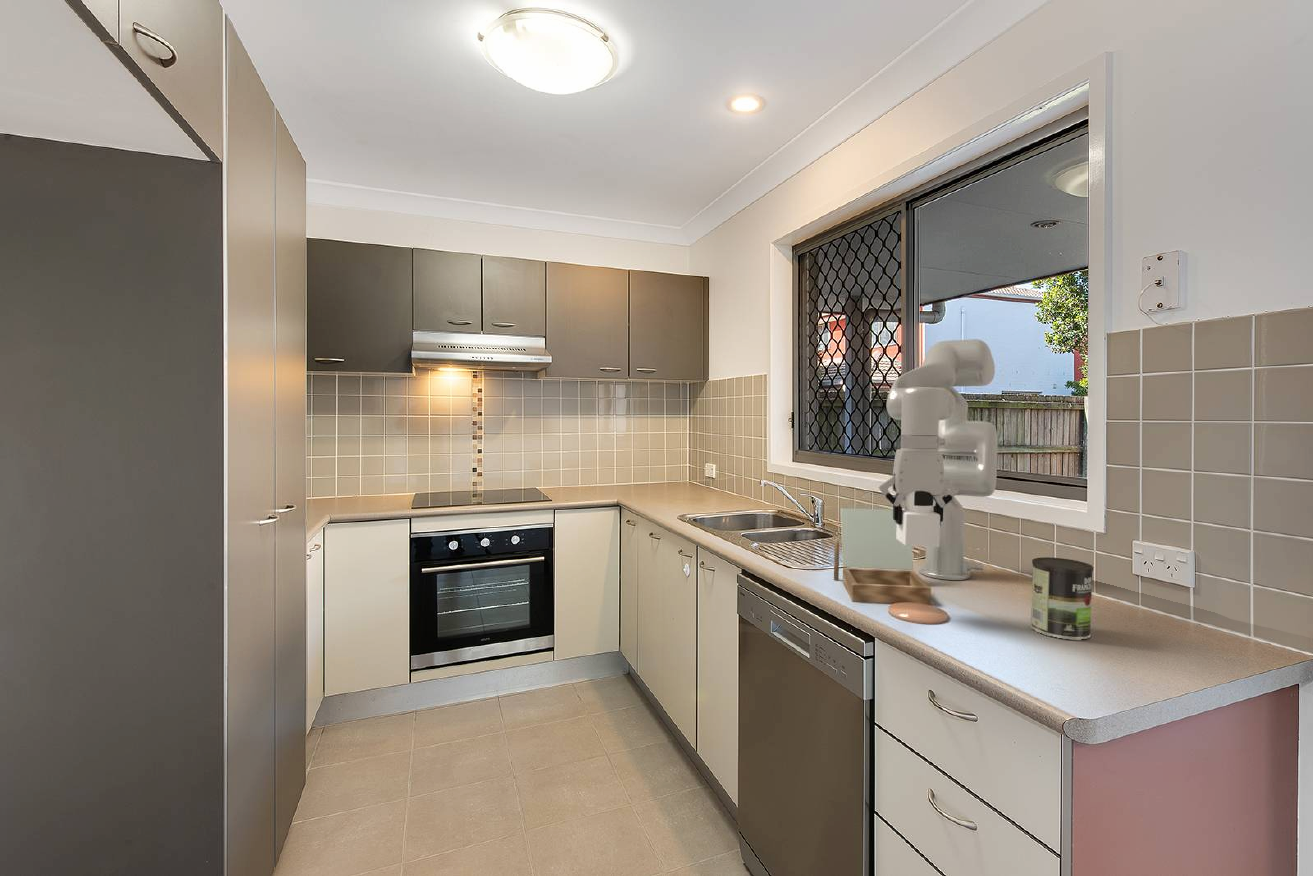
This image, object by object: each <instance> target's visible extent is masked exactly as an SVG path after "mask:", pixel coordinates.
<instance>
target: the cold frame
mask: <svg viewBox="0 0 1313 876" xmlns="http://www.w3.org/2000/svg"><path fill="white" fill-rule="evenodd" d="M842 584H843V587H844V588H845V590H846V592H847V595H848V596H849V598H850V599H851V601H852V602H855V601H860V602H859V603H861V602H862V603H878V604H879V603H881V604H895V603H903V602H910V603H921V604H926V605H931V603H932V602H931V599H932V596H931V595H932V592H931V591H932V588H931V587H930V586H929V584H927V583H926V582H925V580H923V578H922V577H920V576H919V574H917V573H916V571H914V570H901V569H877V568H852V567H842ZM931 606H932V605H931Z"/></svg>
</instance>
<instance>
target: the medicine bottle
mask: <svg viewBox="0 0 1313 876" xmlns="http://www.w3.org/2000/svg"><path fill="white" fill-rule="evenodd" d="M931 509H933V496H932V494H931V493H929V492H925V491H915V492H912V493H910V494H909V495H905V497H904V498H903V500H902V524H901V525H898V524H897V531H896V539H897V540H898V541H899V542H901V543H902V544H903V545H905V546H912V548H913V547H914V548H915V547H916V548H917V547H918V548H920V547H921V548H922V547H924V548H926V547H939V543H940V515H939V514H938V513H935V512H933V511H931Z"/></svg>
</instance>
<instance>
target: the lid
mask: <svg viewBox="0 0 1313 876" xmlns="http://www.w3.org/2000/svg"><path fill="white" fill-rule="evenodd" d="M839 512H840V513H839V515H840V522H841V523H840V529H841V530H840V531H841V533H840V534H841V554H842V556H841V558H842V559H841V560H842V563H841V564H842V568H856V569H881V570H905V571H914V557H913V546H905V545H903V544H902V543H901V542H899V541H898V540H897V539H896V531H897V523H896V522H895V520H893V509H887V508H886V509H882V508H881V509H877V508H846V507H845V508H844V507H841V508H840V509H839Z"/></svg>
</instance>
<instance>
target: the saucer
mask: <svg viewBox="0 0 1313 876" xmlns="http://www.w3.org/2000/svg"><path fill="white" fill-rule="evenodd" d="M888 614H889V615H890V614H891V615H890V616H891V617H894V618H895V619H898V620H900V619H901V620H900V621H904V622H908V623H912V624H913V623H914V624H920V623H921V624H920V625H937V624H938V623H939V624H942V623H945V622H947V621H948V618H949V614H948V612H947V611H946V610H944V609H942V608H940V607H937V606H935V605H926V604H921V603H910V602H903V603H891V604H890V605H889V606H888ZM939 624H938V625H939Z"/></svg>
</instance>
